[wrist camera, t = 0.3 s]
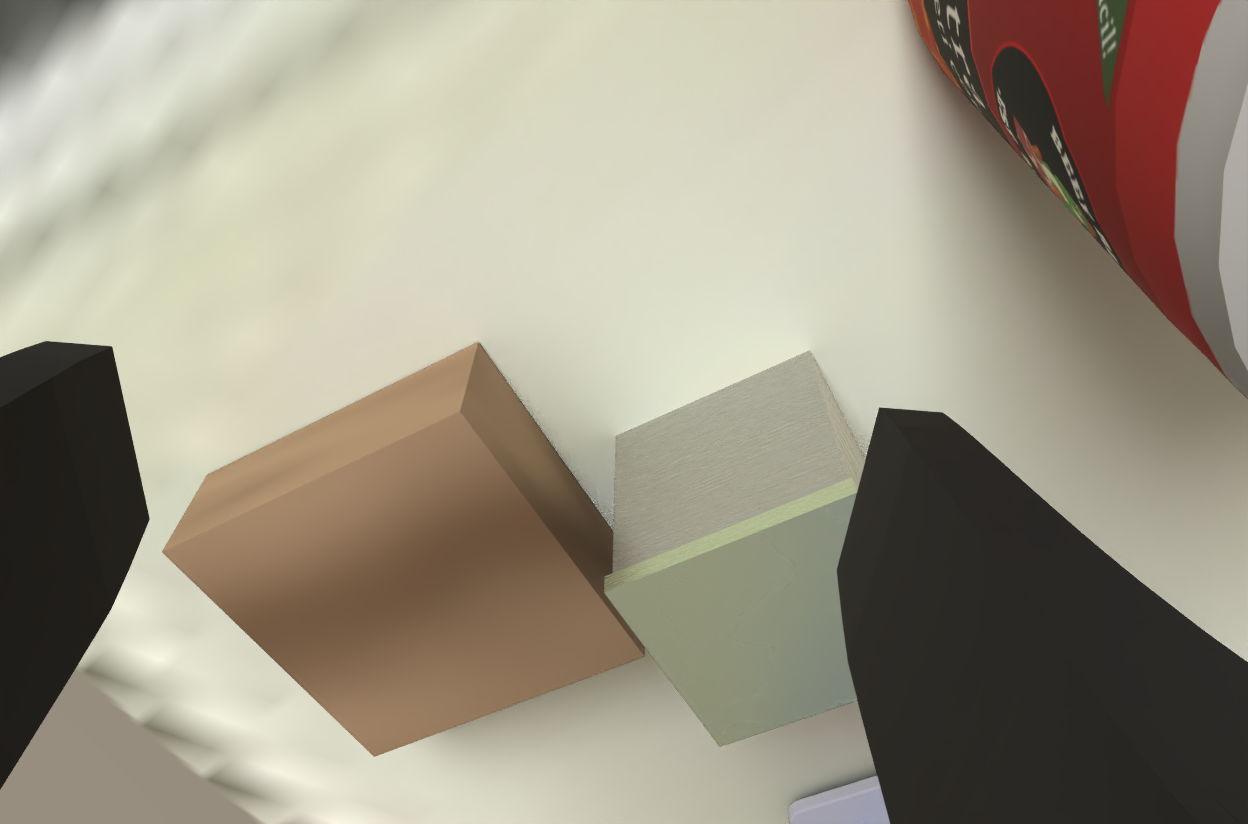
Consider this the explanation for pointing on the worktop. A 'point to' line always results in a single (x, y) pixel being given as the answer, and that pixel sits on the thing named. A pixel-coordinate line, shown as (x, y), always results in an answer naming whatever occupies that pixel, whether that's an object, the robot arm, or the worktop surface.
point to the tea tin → (740, 548)
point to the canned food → (1126, 136)
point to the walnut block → (412, 557)
